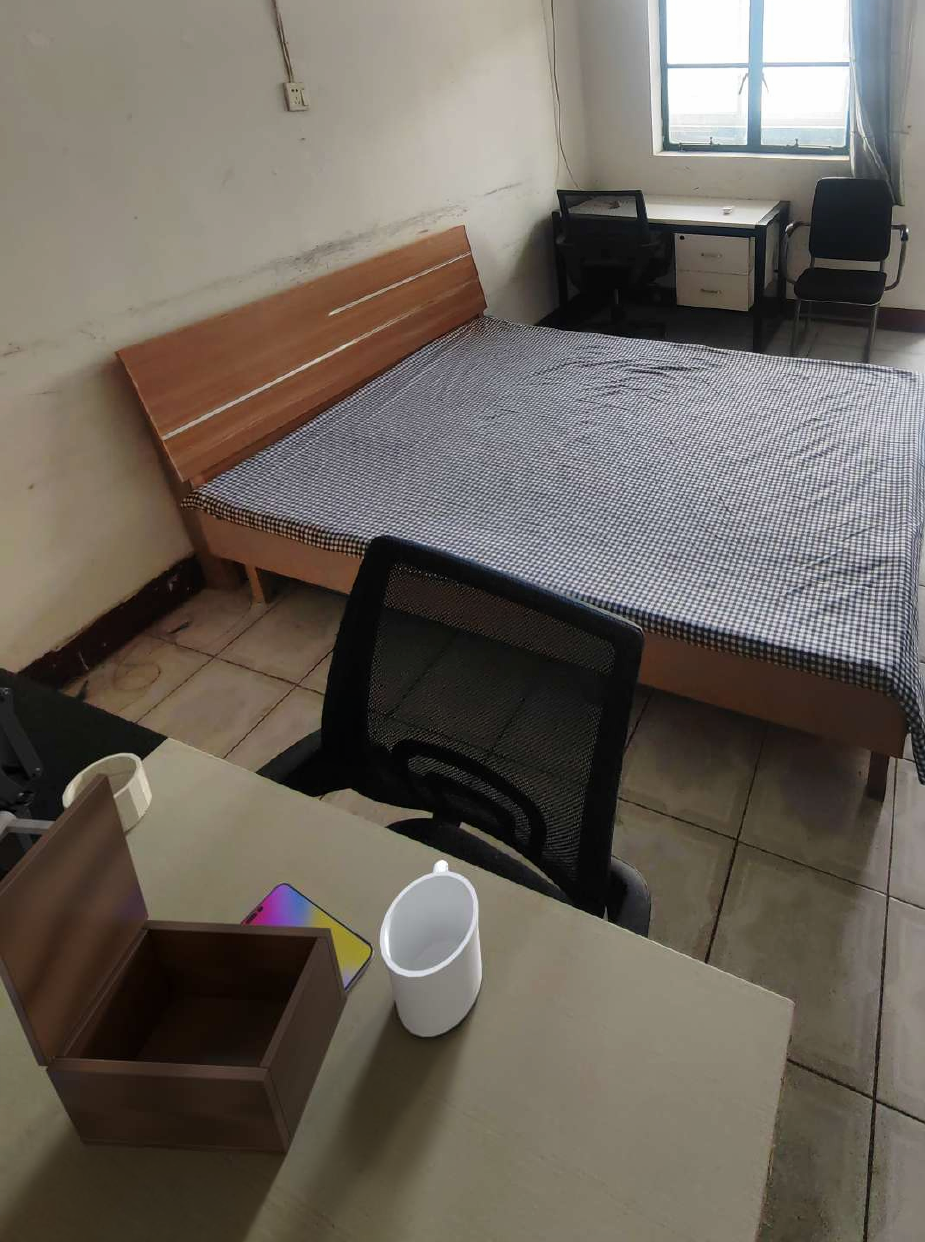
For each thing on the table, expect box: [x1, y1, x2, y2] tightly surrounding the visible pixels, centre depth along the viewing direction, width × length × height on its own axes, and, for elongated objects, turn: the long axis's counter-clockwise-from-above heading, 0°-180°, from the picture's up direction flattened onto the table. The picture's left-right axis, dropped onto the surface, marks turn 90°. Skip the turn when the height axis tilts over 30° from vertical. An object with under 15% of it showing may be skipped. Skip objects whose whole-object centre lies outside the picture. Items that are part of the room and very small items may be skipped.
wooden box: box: [45, 919, 348, 1156], centre depth 60 cm, size 18×11×11 cm, turn 88°
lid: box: [0, 773, 150, 1068], centre depth 56 cm, size 18×11×8 cm
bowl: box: [61, 752, 153, 833], centre depth 83 cm, size 7×7×6 cm
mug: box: [379, 859, 483, 1040], centre depth 67 cm, size 11×9×10 cm
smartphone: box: [239, 882, 375, 995], centre depth 71 cm, size 7×1×15 cm
